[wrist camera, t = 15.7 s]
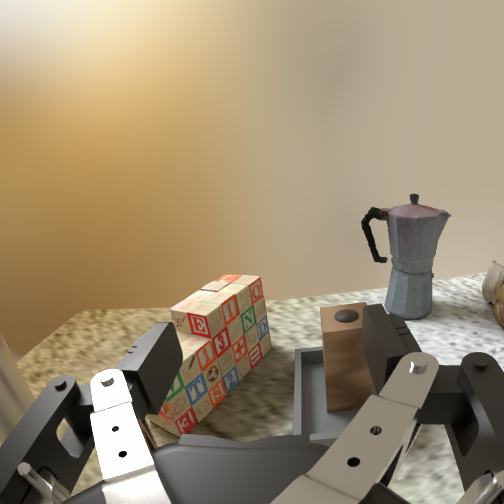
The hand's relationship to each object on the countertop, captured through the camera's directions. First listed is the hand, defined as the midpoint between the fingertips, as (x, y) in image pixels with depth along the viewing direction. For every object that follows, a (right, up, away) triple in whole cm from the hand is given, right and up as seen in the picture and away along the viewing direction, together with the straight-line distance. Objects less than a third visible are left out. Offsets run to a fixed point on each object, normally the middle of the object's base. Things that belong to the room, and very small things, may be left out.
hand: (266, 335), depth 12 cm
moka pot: (+27, -7, +37) cm, 46 cm away
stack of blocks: (-6, -15, +28) cm, 32 cm away
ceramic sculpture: (+43, -7, +25) cm, 50 cm away
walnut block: (+10, -13, +20) cm, 26 cm away
